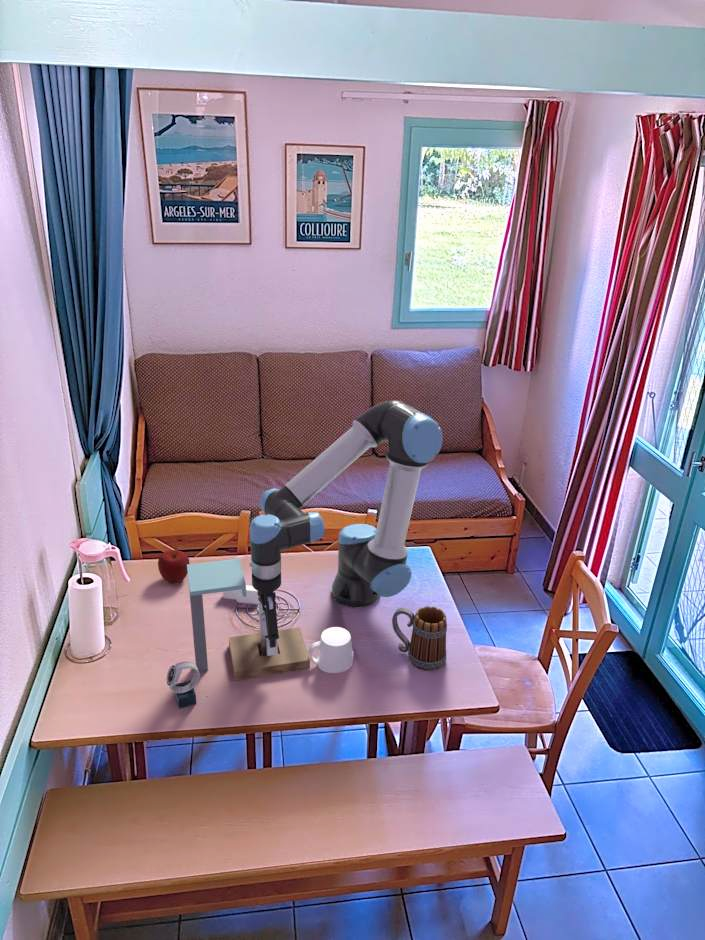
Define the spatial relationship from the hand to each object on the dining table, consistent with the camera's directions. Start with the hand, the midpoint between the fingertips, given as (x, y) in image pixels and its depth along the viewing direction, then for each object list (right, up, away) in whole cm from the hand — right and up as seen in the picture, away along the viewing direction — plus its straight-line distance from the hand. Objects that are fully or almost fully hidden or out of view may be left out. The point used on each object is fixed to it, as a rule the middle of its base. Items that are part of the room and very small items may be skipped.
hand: (268, 637), depth 196 cm
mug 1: (+17, -8, +1) cm, 19 cm away
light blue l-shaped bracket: (-13, -7, 0) cm, 14 cm away
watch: (-20, -13, -12) cm, 26 cm away
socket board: (0, -6, +3) cm, 7 cm away
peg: (0, -6, +3) cm, 7 cm away
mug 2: (+41, -7, +5) cm, 42 cm away
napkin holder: (-11, +5, +27) cm, 30 cm away
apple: (-33, +10, +34) cm, 48 cm away
